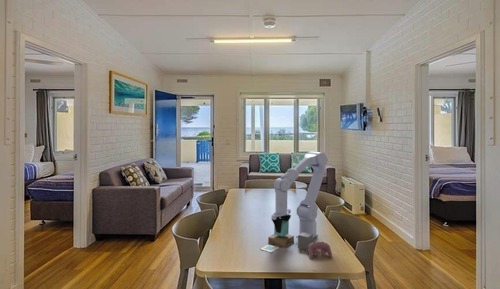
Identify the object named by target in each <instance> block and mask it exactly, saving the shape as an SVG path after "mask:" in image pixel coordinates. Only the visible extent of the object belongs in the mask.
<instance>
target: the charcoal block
mask: <svg viewBox="0 0 500 289" xmlns="http://www.w3.org/2000/svg"><path fill="white" fill-rule="evenodd" d="M297 235H298V234H297ZM311 243H314V238H313V234H310V233H305V232H302V233H301V234H299V235H298V237H297V248H299V249H303V250H307V251H309V250H308V246H309V244H311Z"/></svg>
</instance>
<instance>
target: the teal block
mask: <svg viewBox="0 0 500 289" xmlns="http://www.w3.org/2000/svg"><path fill="white" fill-rule="evenodd" d="M289 224H290V221H289V222H288V221H283V222H282V226H281V232H280V233H278V232H276V229H275V225H274V224H273V225H274V226H273V227H274V229H273V232H274V233H273V234H275V235H279V236H285V235H287V234H289V232H290V231H289V228H290V226H289Z"/></svg>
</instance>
